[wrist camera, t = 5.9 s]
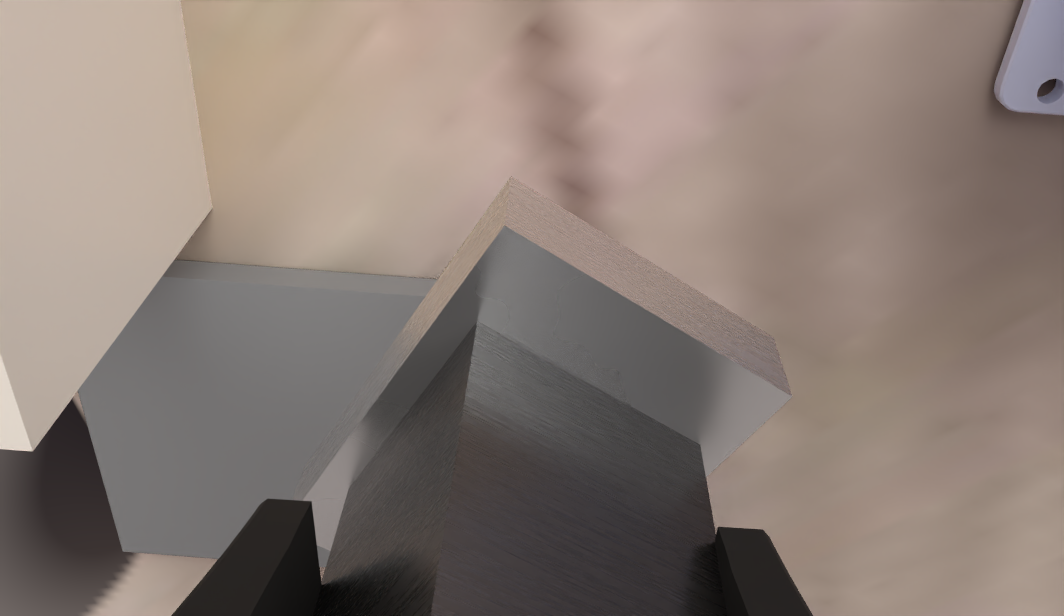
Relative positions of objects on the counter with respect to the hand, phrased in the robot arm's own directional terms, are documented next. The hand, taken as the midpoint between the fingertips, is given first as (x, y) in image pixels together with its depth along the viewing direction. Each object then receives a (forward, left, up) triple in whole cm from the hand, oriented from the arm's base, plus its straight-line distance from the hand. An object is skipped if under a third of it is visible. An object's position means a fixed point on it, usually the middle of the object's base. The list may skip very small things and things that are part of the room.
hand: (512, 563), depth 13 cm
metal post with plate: (0, 0, -3) cm, 3 cm away
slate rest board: (+6, +7, -10) cm, 14 cm away
